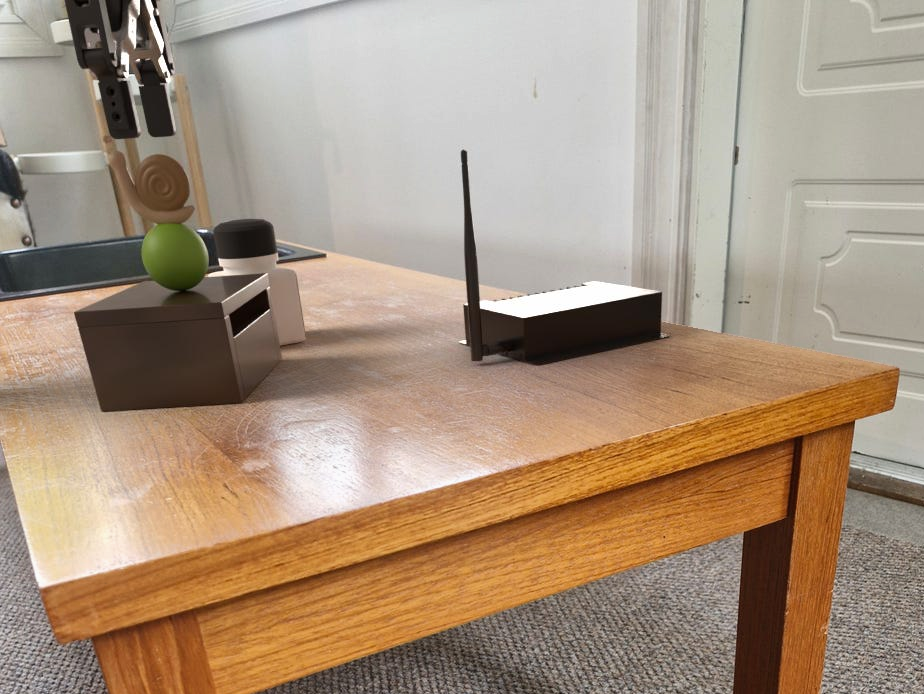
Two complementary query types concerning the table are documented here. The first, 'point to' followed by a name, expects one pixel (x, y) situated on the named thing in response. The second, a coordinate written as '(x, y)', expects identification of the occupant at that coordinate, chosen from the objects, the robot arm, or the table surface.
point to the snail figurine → (164, 219)
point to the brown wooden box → (181, 343)
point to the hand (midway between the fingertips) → (145, 137)
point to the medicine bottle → (261, 270)
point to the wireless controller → (553, 313)
